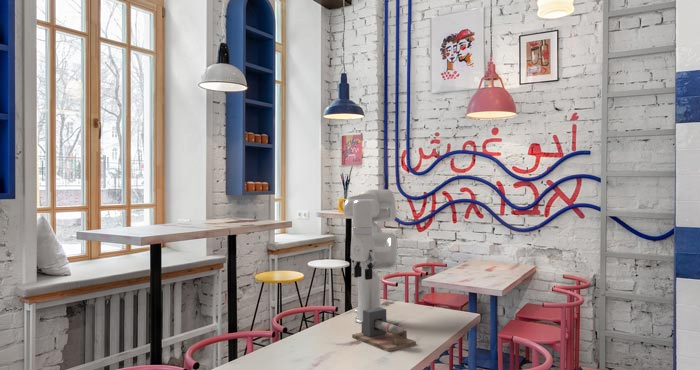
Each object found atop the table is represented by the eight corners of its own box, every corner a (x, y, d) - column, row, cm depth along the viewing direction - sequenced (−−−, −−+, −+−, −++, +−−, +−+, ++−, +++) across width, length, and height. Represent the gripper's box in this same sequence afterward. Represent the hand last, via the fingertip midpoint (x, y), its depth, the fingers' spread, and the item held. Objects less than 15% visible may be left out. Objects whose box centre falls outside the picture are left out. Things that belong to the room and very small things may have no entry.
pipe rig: (352, 337, 188) (352, 318, 188) (379, 331, 195) (379, 313, 195) (388, 351, 171) (387, 330, 171) (416, 344, 178) (415, 324, 178)
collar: (363, 334, 186) (362, 310, 187) (379, 330, 191) (379, 307, 191) (369, 336, 183) (369, 312, 183) (386, 333, 188) (386, 309, 188)
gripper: (342, 230, 198) (342, 276, 198) (368, 233, 184) (369, 282, 184) (357, 229, 203) (357, 274, 202) (384, 232, 189) (384, 280, 188)
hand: (363, 277), depth 193 cm, fingers open, 6 cm apart
